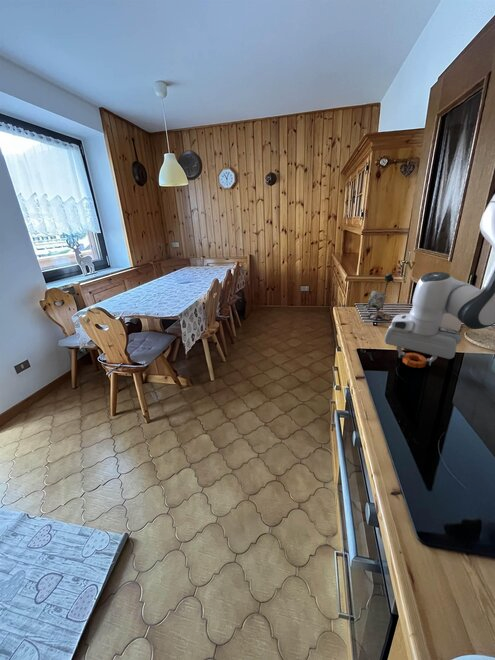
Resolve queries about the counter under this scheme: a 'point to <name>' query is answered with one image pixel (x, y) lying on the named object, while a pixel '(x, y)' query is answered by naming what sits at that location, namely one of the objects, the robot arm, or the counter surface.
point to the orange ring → (411, 363)
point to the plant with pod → (379, 301)
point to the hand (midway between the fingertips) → (414, 360)
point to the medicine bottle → (450, 322)
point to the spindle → (418, 352)
